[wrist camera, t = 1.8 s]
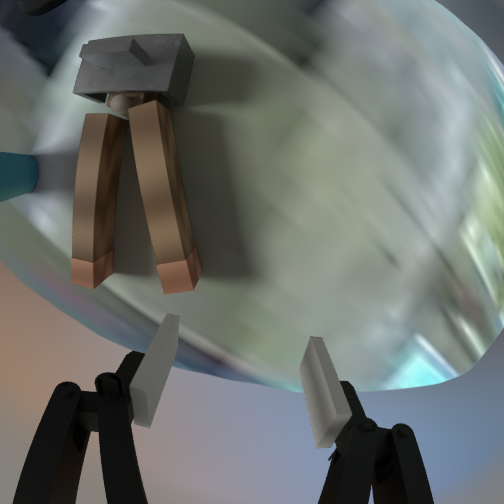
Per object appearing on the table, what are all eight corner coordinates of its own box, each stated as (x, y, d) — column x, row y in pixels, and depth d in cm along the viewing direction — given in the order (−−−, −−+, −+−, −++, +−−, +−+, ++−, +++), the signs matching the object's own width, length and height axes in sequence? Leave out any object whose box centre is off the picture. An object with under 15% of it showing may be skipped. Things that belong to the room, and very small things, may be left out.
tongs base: (118, 73, 25) (98, 59, 20) (164, 72, 25) (149, 56, 20) (93, 268, 31) (71, 283, 26) (134, 277, 31) (116, 295, 26)
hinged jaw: (145, 118, 26) (126, 109, 21) (171, 110, 26) (156, 99, 21) (176, 275, 31) (164, 294, 26) (202, 271, 31) (193, 290, 26)
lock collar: (112, 57, 23) (69, 27, 14) (194, 56, 24) (172, 13, 15) (99, 103, 25) (49, 84, 16) (182, 105, 26) (152, 77, 16)
